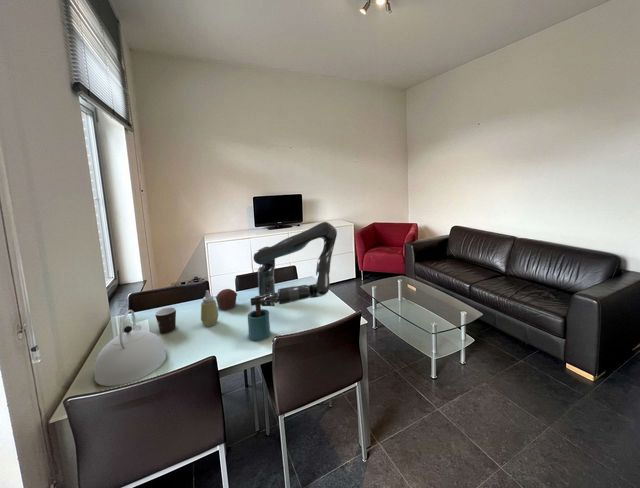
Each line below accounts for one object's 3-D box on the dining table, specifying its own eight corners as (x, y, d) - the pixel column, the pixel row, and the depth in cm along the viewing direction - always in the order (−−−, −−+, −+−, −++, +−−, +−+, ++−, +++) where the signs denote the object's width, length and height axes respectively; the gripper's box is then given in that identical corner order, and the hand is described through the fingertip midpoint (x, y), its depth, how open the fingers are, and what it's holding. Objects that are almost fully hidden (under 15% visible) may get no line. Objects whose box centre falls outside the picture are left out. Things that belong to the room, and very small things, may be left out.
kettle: (109, 354, 129) (102, 305, 126) (171, 341, 138) (166, 295, 135) (84, 393, 106) (75, 334, 103) (160, 374, 116) (154, 320, 113)
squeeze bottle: (211, 328, 150) (208, 294, 147) (197, 327, 151) (194, 293, 149) (222, 320, 157) (219, 288, 155) (209, 319, 159) (206, 287, 157)
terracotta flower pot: (239, 307, 172) (238, 291, 171) (218, 313, 166) (217, 296, 164) (235, 300, 182) (234, 285, 180) (215, 305, 176) (213, 289, 174)
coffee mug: (159, 327, 151) (157, 309, 149) (179, 324, 154) (177, 305, 153) (153, 339, 140) (151, 319, 139) (175, 335, 144) (173, 315, 142)
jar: (248, 333, 145) (247, 311, 144) (268, 328, 149) (267, 307, 148) (249, 342, 137) (248, 320, 135) (271, 337, 141) (269, 316, 139)
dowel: (254, 331, 144) (251, 295, 141) (264, 329, 146) (262, 294, 143) (255, 336, 140) (252, 299, 137) (265, 333, 142) (263, 297, 139)
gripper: (285, 283, 152) (249, 289, 145) (290, 292, 140) (251, 300, 132) (286, 297, 153) (250, 303, 146) (291, 308, 141) (252, 316, 134)
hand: (251, 302), depth 139 cm, fingers closed on dowel, 2 cm apart
